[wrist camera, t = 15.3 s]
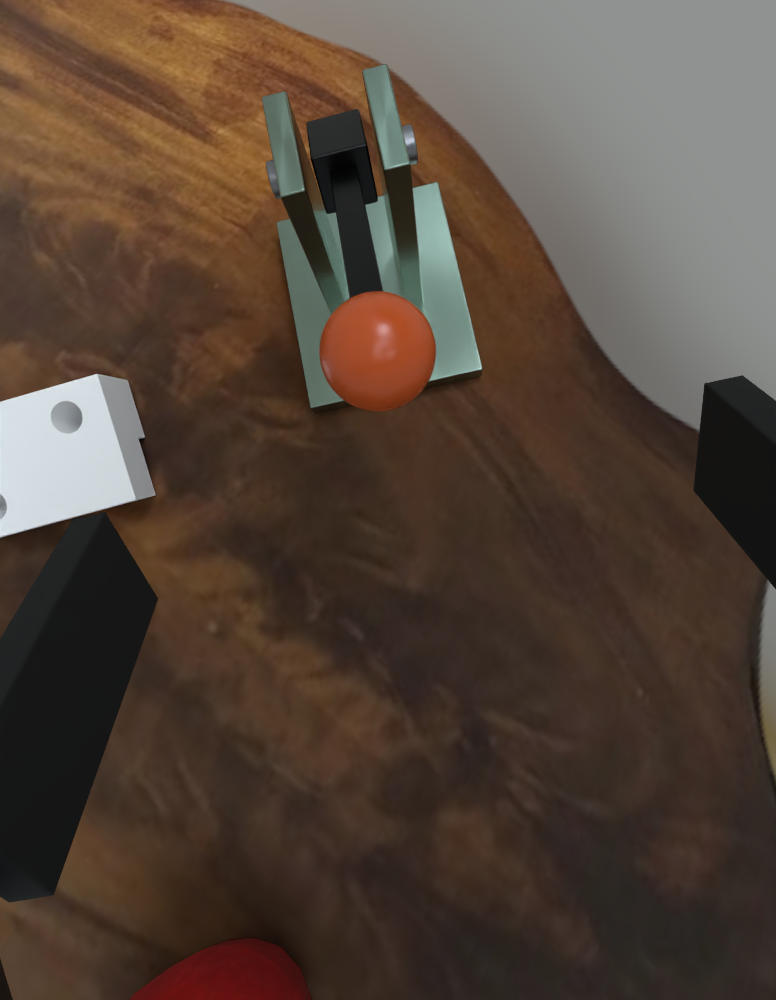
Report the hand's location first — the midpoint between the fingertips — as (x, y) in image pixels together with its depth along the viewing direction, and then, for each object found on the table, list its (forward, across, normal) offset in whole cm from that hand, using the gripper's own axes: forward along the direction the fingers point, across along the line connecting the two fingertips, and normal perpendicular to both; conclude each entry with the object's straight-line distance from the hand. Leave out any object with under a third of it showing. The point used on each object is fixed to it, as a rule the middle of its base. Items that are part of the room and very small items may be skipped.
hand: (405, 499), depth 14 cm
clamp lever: (+12, 0, +1) cm, 13 cm away
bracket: (+21, -22, -8) cm, 32 cm away
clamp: (+26, 0, -4) cm, 26 cm away
